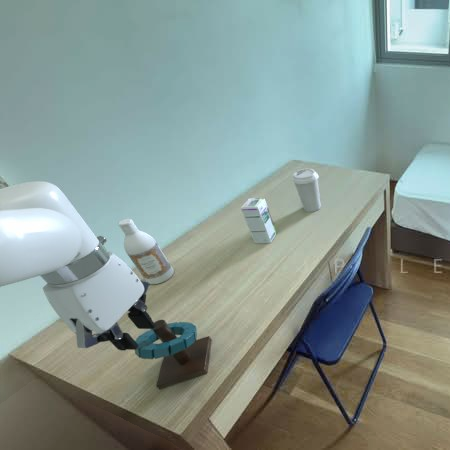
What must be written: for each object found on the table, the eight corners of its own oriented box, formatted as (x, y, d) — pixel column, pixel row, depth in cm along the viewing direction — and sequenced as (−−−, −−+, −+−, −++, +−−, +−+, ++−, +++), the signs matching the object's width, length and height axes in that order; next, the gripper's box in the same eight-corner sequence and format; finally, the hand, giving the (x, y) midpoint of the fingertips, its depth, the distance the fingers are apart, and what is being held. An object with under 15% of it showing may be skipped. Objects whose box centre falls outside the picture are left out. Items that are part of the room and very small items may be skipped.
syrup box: (271, 243, 103) (258, 206, 95) (254, 243, 104) (239, 207, 95) (277, 233, 108) (265, 197, 100) (260, 233, 108) (247, 197, 100)
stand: (207, 373, 66) (179, 334, 58) (159, 389, 64) (123, 351, 56) (211, 339, 73) (187, 301, 65) (168, 353, 71) (137, 314, 63)
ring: (193, 350, 61) (192, 341, 61) (128, 364, 57) (126, 355, 56) (199, 326, 70) (198, 318, 69) (143, 336, 65) (142, 328, 65)
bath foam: (147, 288, 88) (107, 232, 77) (147, 275, 93) (109, 220, 81) (175, 278, 91) (140, 222, 80) (173, 265, 96) (140, 211, 85)
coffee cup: (316, 199, 127) (308, 165, 119) (329, 206, 122) (322, 172, 113) (295, 208, 122) (286, 173, 113) (308, 216, 116) (299, 181, 108)
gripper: (98, 230, 53) (151, 302, 64) (-11, 305, 40) (79, 381, 50) (139, 230, 53) (186, 302, 63) (43, 306, 39) (122, 382, 50)
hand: (138, 336), depth 56 cm, fingers open, 3 cm apart
